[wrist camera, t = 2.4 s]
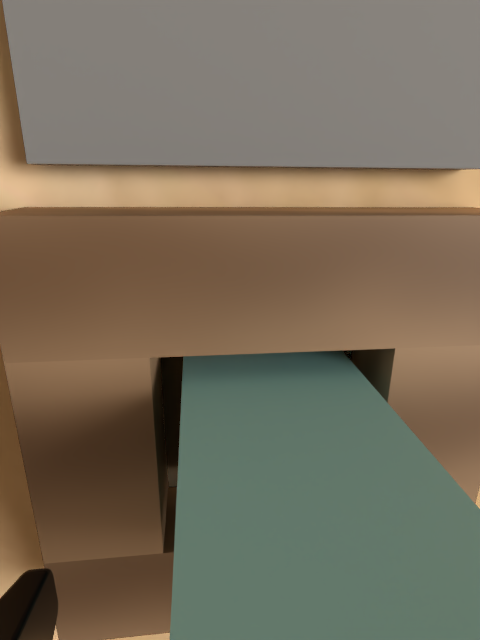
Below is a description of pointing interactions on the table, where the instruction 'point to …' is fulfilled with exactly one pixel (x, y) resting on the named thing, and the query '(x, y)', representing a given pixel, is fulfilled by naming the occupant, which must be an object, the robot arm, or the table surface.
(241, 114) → the pad
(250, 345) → the pocket
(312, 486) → the peg
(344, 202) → the table surface
